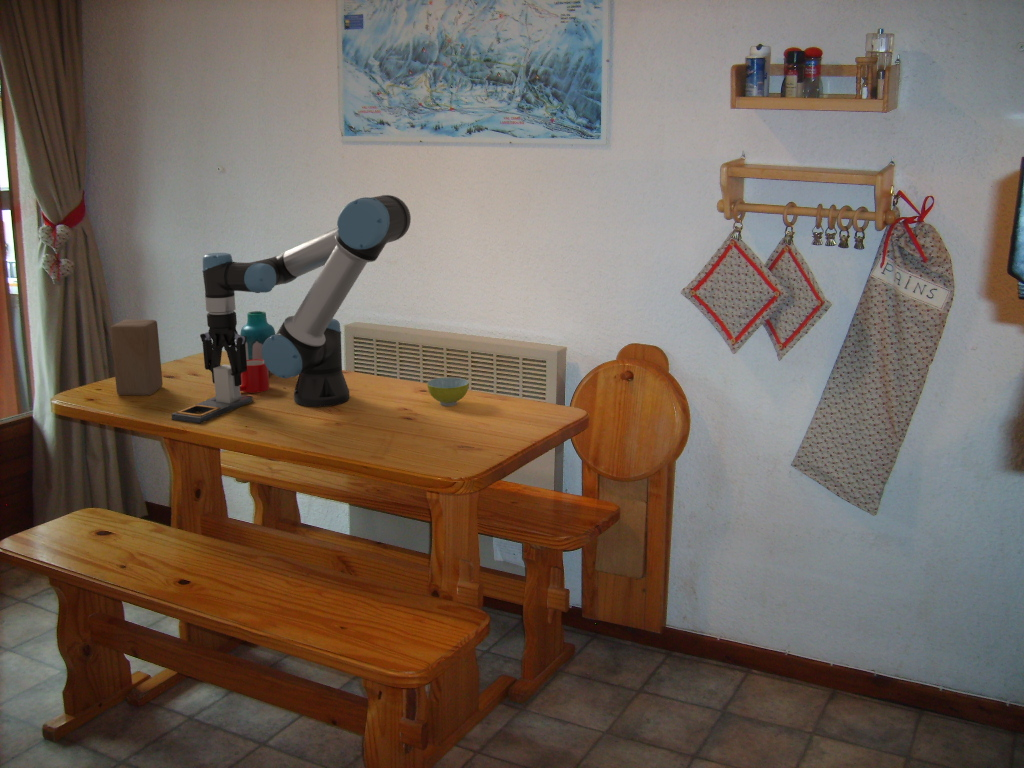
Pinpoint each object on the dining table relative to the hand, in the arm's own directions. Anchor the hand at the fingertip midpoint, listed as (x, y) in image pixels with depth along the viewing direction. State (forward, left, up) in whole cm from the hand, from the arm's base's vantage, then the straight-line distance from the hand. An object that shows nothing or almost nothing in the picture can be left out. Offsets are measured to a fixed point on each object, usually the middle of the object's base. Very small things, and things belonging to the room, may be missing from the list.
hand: (228, 396), depth 264 cm
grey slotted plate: (0, +6, -2) cm, 6 cm away
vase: (+11, -30, -3) cm, 32 cm away
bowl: (-55, -24, -3) cm, 60 cm away
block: (+31, -1, -3) cm, 31 cm away
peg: (0, 0, -2) cm, 2 cm away
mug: (+3, -14, -3) cm, 15 cm away
